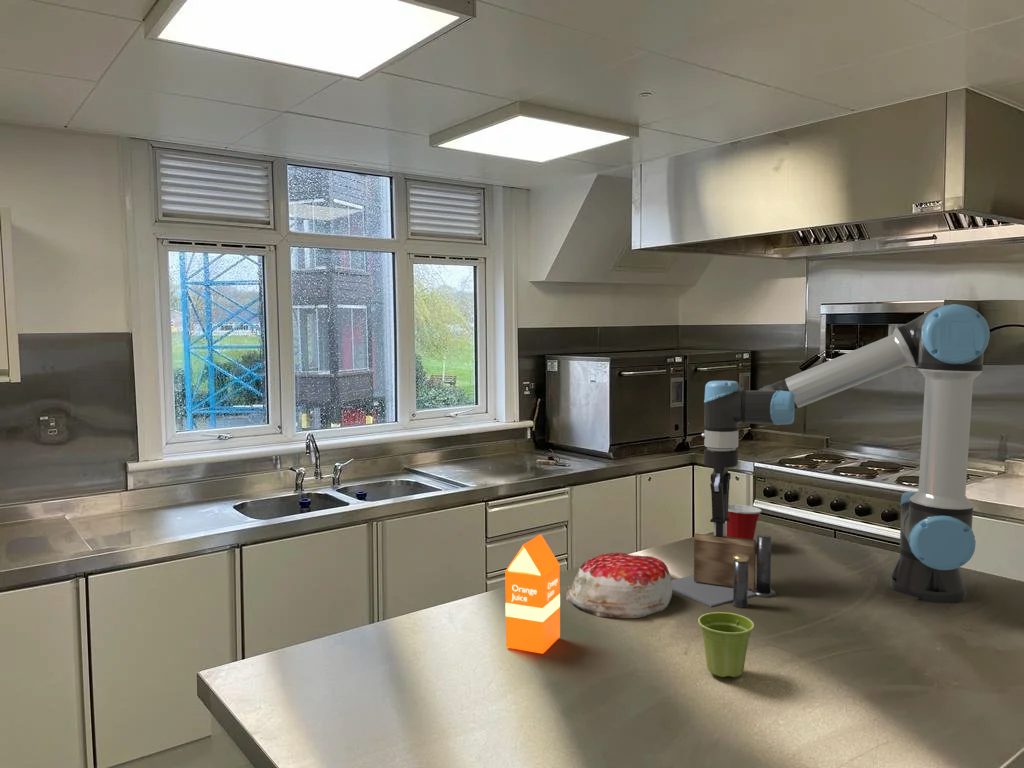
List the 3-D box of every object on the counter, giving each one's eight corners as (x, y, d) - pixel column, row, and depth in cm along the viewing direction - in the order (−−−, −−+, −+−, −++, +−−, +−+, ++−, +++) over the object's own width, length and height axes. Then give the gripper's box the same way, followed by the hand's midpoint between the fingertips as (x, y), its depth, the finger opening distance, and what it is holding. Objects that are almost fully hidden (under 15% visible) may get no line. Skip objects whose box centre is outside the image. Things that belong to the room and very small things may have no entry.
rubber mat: (766, 592, 174) (766, 591, 174) (710, 606, 165) (710, 605, 165) (711, 572, 188) (711, 571, 188) (658, 584, 180) (658, 583, 180)
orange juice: (560, 636, 150) (560, 535, 149) (543, 654, 142) (542, 547, 141) (524, 630, 154) (523, 531, 152) (504, 647, 146) (503, 542, 144)
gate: (754, 587, 175) (755, 540, 174) (753, 589, 174) (754, 541, 173) (695, 579, 181) (695, 533, 180) (693, 581, 180) (694, 534, 179)
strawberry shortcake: (667, 582, 182) (668, 540, 182) (676, 621, 158) (676, 573, 158) (570, 579, 185) (569, 538, 185) (563, 616, 161) (563, 569, 161)
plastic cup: (770, 553, 204) (770, 508, 203) (736, 558, 200) (737, 512, 199) (743, 543, 214) (743, 500, 213) (710, 547, 210) (711, 504, 209)
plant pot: (763, 669, 135) (764, 621, 134) (736, 688, 128) (737, 636, 127) (715, 654, 141) (715, 608, 141) (687, 671, 135) (687, 622, 134)
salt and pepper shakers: (786, 597, 171) (787, 539, 170) (740, 609, 164) (741, 548, 163) (762, 588, 177) (763, 532, 176) (717, 599, 170) (717, 541, 169)
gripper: (709, 443, 184) (708, 540, 186) (699, 451, 173) (698, 555, 174) (741, 445, 181) (740, 543, 183) (733, 453, 169) (732, 559, 171)
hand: (720, 549), depth 179 cm, fingers closed
